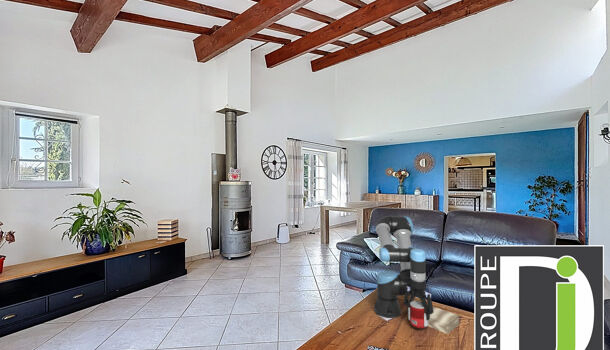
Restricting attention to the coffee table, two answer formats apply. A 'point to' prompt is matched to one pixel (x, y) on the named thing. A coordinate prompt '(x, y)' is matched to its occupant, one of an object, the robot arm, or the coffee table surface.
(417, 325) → the canned food
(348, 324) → the coffee table surface
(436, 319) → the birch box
